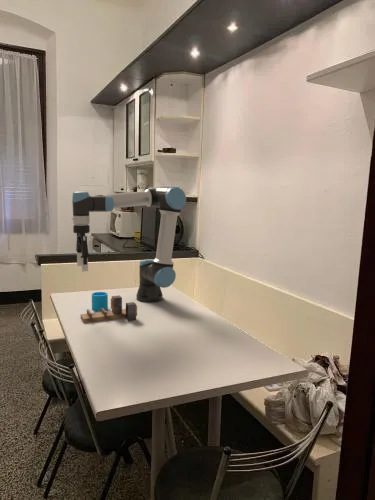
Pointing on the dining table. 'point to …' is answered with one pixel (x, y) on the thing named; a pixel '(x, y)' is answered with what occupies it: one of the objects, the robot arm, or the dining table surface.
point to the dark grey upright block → (131, 311)
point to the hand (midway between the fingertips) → (82, 268)
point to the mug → (99, 301)
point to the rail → (106, 312)
